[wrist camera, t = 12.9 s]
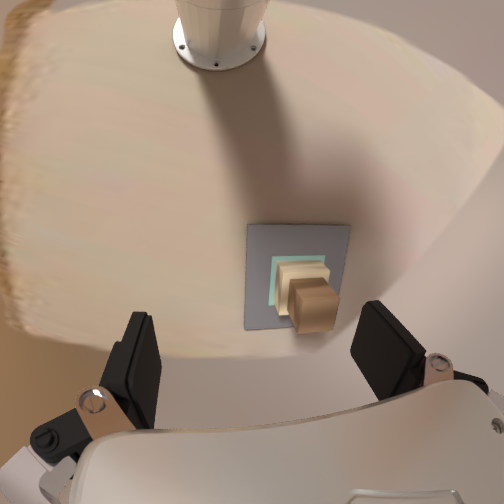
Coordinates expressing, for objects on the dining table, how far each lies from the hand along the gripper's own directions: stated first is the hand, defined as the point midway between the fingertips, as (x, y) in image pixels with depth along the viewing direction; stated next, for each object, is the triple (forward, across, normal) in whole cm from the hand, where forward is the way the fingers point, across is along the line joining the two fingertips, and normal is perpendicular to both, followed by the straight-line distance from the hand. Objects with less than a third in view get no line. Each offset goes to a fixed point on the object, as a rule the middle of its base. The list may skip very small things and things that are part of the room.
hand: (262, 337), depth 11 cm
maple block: (+28, -11, +12) cm, 32 cm away
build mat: (+28, -11, +12) cm, 33 cm away
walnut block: (+24, -11, +12) cm, 29 cm away
